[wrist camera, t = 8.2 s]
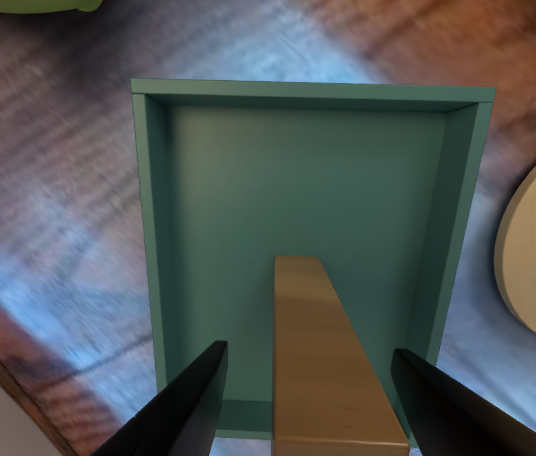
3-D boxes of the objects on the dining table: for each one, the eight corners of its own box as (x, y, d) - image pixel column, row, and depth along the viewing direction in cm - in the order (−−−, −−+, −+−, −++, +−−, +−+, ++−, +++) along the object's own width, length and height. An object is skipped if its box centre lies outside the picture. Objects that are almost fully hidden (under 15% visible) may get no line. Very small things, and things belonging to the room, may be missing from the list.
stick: (315, 296, 15) (393, 542, 5) (273, 294, 15) (269, 534, 5) (318, 256, 14) (413, 446, 4) (274, 254, 14) (273, 439, 5)
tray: (397, 407, 17) (418, 448, 15) (177, 396, 18) (160, 434, 15) (453, 102, 13) (497, 86, 10) (157, 95, 13) (129, 77, 11)
